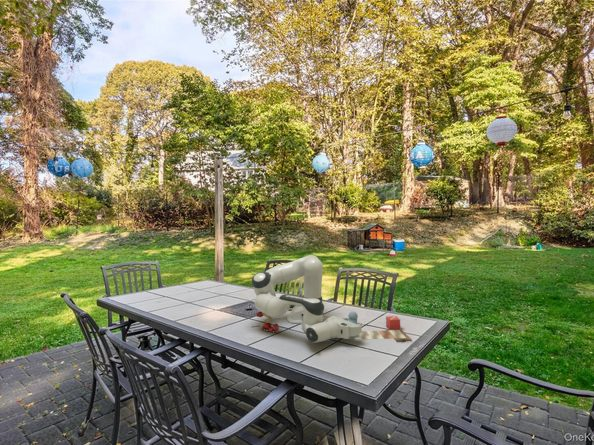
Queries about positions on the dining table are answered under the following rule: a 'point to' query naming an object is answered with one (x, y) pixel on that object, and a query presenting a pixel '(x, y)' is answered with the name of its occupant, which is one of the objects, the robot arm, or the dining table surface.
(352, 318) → the pawn
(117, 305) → the dining table surface
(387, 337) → the game track
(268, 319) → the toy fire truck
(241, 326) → the dining table surface
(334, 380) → the dining table surface
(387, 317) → the red die
